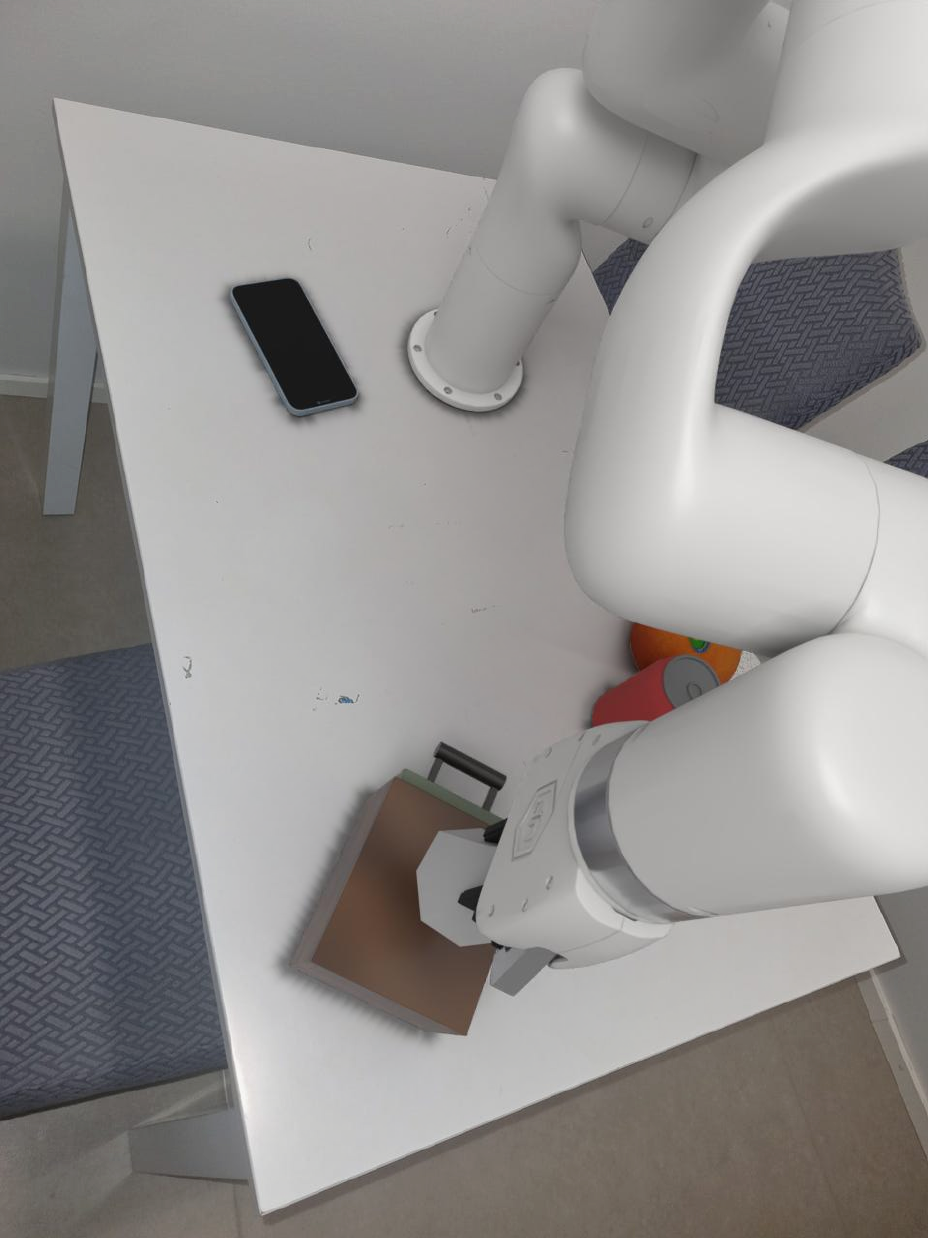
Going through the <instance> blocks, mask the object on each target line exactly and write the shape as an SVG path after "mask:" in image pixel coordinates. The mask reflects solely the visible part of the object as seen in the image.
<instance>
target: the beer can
mask: <svg viewBox="0 0 928 1238" xmlns="http://www.w3.org/2000/svg"><path fill="white" fill-rule="evenodd" d="M720 685H721V683H720V681H719V678H718V676H717V674H716V673H715V671H714V670H713V669H712V667H711V666H710V665H709V664H708V663H706V662H705V661H704V660H703V659H701V658H699V657H697V656H694V655H688V654H683V655H679V656H672V657H668V658H663V659H659V660H658V661H656V662H655V663H653V664H651V665H650V666H648V667H646V668H645V669H643V670H642V671H638V672H637V673H635V674H633V675H632V676H630V677H628V678H627V679H625V680H624V681H622V682H620V683H619V684H617V685H616V686H614V687H613V688H611V689H609V690H607V691H606V692H605V693H603V694H602V695H601V696H599V698H598V699H597V701H596V702H595V704H594V706H593V710H592V714H591V717H592V718H591V721H592V728H593V727H596V726H600V725H604V724H608V723H615V722H625V721H639V720H645V721H650V722H651V721H653V720H655V719H657V718H658V717H660V716H662V715H664V714H666V713H668V712H670V711H672V710H674V709H676V708H678V707H680V706H682V705H684V704H686V703H688V702H689V701H691V700H693V699H695V698H697V697H699V696H701V695H703V694H705V693H707V692H709V691H711V690H713V689H714V688H716V687H718V686H720Z"/></svg>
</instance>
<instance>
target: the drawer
mask: <svg viewBox="0 0 928 1238" xmlns="http://www.w3.org/2000/svg"><path fill="white" fill-rule="evenodd" d="M432 757H433V758H434V760H433V762H432V765H431V767H430V770H429V772H428V774H427V776H426V777H423V776H421V775H420V774H418V773H416V772H414V771H413V770H411V769H408V768H407V767H405V768H404V769H403V770H401V771H400V772H399V773H397V774H396V775H395V776H396V777H398V778H400V779H402V780H404V781H406V782H408V783H410V784H412V785H414V786H415V787H417V788H419V789H421V790H423V791H425V792H427V793H429V794H431V795H433V796H435V797H437V798H439V799H440V800H442V801H444V802H446V803H448V804H450V805H452V806H454V807H456V808H458V809H460V810H462V811H464V812H465V813H467V814H469V815H471V816H473V817H475V818H477V819H479V820H481V821H483V822H485V823H487V824H489V825H490V826H491V825H493V824H495V823H497V822H499V821H502V820H504V819H505V818H502V817H500V816H499V815H497V814H495V813H492V812H491V810H492V808H493V804H494V803H495V800H496V797H497V794H498V792H500V791H501V790H502V789H503V788H504V786H505V784H506V782H507V777H508V776H507V775H506V774H505V773H502V772H500V771H499V770H497V769H495V768H493V767H491V766H489V765H487V764H485V763H483V762H482V761H479V760H478V759H476V758H474V757H472V756H470V755H468V754H467V753H464V752H463V751H461V750H459V749H457V748H455V747H454V746H451V745H450V744H447V743H445V742H444V741H439V743H438V744H437V746H436V747H435V749H434V751H433V754H432ZM443 763H444V764H445V765H447V766H449V767H452V768H453V769H455V770H457V771H458V772H461V773H462V774H465V775H466V776H468V777H470V778H472V779H474V780H476V781H478V782H479V783H481V784H483V785H485V786H487V787H489V788H488V791H487V793H486V796H485V799H484V800H483V804H482V806H479V805H478V804H475V803H474V802H472V801H470V800H468V799H466V798H465V797H463V796H460V795H458V794H456V793H454V792H453V791H451V790H449V789H446V788H445V787H443V786H441V785H439V784H437V783H436V780H437V778H438V775H439V773H440V770H441V769H442V766H443Z"/></svg>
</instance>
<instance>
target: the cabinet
mask: <svg viewBox="0 0 928 1238" xmlns="http://www.w3.org/2000/svg"><path fill="white" fill-rule="evenodd" d="M488 826H490V825H489V824H487V823H485V822H483V821H481V820H479V819H477V818H475V817H473V816H471V815H469V814H467V813H465V812H464V811H462V810H460V809H458V808H456V807H454V806H452V805H450V804H448V803H446V802H444V801H442V800H440V799H439V798H437V797H435V796H433V795H431V794H429V793H427V792H425V791H423V790H421V789H419V788H417V787H415V786H414V785H412V784H410V783H408V782H406V781H404V780H402V779H400V778H398V777H396V775H395V776H394V777H393V778H391V779H390V780H389V781H387V782H386V783H385V784H383V785H382V786H381V787H380V788H378V789H377V790H376V791H375V792H373V793H372V794H370V795H369V796H368V797H367V798H366V799H365V800H364V802H363V805H362V807H361V809H360V811H359V813H358V815H357V818H356V820H355V822H354V824H353V826H352V828H351V831H350V833H349V835H348V836H347V839H346V841H345V843H344V846H343V847H342V850H341V851H340V854H339V856H338V858H337V860H336V862H335V864H334V867H333V869H332V871H331V873H330V875H329V877H328V879H327V881H326V884H325V886H324V888H323V890H322V892H321V894H320V897H319V898H318V901H317V903H316V905H315V907H314V909H313V912H312V914H311V916H310V918H309V920H308V923H307V925H306V927H305V929H304V931H303V933H302V935H301V937H300V939H299V942H298V944H297V946H296V948H295V950H294V952H293V954H292V957H291V959H290V961H289V963H288V967H289V968H292V969H293V970H296V971H298V972H300V973H302V974H304V975H306V976H308V977H311V978H312V979H315V980H316V981H319V982H321V983H323V984H325V985H327V986H329V987H332V988H334V989H335V990H338V991H340V992H342V993H344V994H346V995H347V996H350V997H352V998H355V999H357V1000H358V1001H361V1002H363V1003H365V1004H367V1005H369V1006H371V1007H373V1008H376V1009H378V1010H380V1011H382V1012H384V1013H386V1014H388V1015H390V1016H392V1017H394V1018H396V1019H399V1020H400V1021H402V1022H405V1023H407V1024H409V1025H411V1026H413V1027H415V1028H418V1029H419V1030H422V1031H424V1032H426V1033H435V1034H444V1035H453V1036H461V1037H462V1036H463V1037H466V1036H468V1033H469V1030H470V1028H471V1024H472V1021H473V1018H474V1016H475V1013H476V1011H477V1007H478V1005H479V1001H480V999H481V995H482V992H483V990H484V987H485V984H486V981H487V979H488V978H487V977H488V976H489V973H490V971H491V968H492V961H493V955H494V954H495V953H496V951H497V948H495V947H493V946H492V945H491V943H486V944H477V945H469V946H458V945H457V944H455V943H454V942H452V941H451V940H449V939H448V938H446V937H445V936H443V935H442V934H440V933H439V932H438V931H436V930H435V929H433V928H432V927H430V926H429V925H427V924H426V923H424V922H423V921H421V917H420V906H419V895H418V884H417V873H416V871H417V869H418V867H419V865H420V863H421V862H422V860H423V858H424V856H425V855H426V853H427V851H428V849H429V848H430V846H431V844H432V842H433V841H434V839H435V837H436V835H437V834H438V832H439V831H446V830H461V829H476V828H482V829H484V830H485V829H486V827H488Z"/></svg>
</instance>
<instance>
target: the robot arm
mask: <svg viewBox="0 0 928 1238" xmlns="http://www.w3.org/2000/svg"><path fill="white" fill-rule="evenodd" d="M580 221H582V222H585V223H589V224H592V225H594V226H600V227H602V228H605V229H607V230H610V231H612V232H614V233H617V234H620V235H622V236H624V237H627V238H629V239H632V240H634V241H636V242H639V243H642V244H645V245H647V248H646V249H645V251H644V252H643V254H642V255H641V257H640V259H639V260H638V261H637V263H636V264H635V267H634V268H633V270H632V271H631V274H630V275H629V277H628V279H627V280H626V282H625V284H624V285H623V288H622V290H621V291H620V294H619V296H618V298H617V300H616V302H615V303H614V306H613V308H612V310H611V312H610V315H609V318H608V320H607V323H606V325H605V327H604V329H603V333H602V335H601V338H600V341H599V343H598V347H597V350H596V354H595V357H594V361H593V365H592V369H591V373H590V378H589V384H588V389H587V394H586V399H585V403H584V408H583V412H582V416H581V421H580V426H579V429H578V434H577V438H576V444H575V447H574V451H573V452H574V453H573V458H572V463H571V467H570V474H569V478H568V484H567V485H568V486H567V493H566V500H565V507H564V517H563V518H564V519H563V520H564V521H563V523H564V524H563V533H564V549H565V555H566V560H567V564H568V566H569V569H570V571H571V573H572V576H573V579H574V581H575V582H576V584H577V585H578V587H579V588H580V590H581V591H582V592H583V594H585V595H586V596H587V598H588V599H590V601H592V602H593V603H594V604H596V605H597V606H599V608H602V609H603V610H604V611H606V612H608V613H610V614H611V615H613V616H616V617H618V618H620V619H623V620H627V621H630V622H633V623H634V622H636V623H640V624H643V625H646V626H650V627H653V628H656V629H660V630H664V631H667V632H671V633H675V634H679V635H682V636H686V637H691V638H695V639H699V640H703V641H707V642H711V643H715V644H719V645H723V646H727V647H731V648H735V649H739V650H743V651H742V652H747V653H751V654H753V655H754V656H755V657H756V659H757V660H758V661H759V663H760V664H758V665H756V666H754V667H753V668H751V669H749V670H747V671H745V672H743V673H742V674H739V675H737V676H735V677H734V678H731V679H730V680H729V681H728V682H726V683H724V684H722V685H720V686H718V687H716V688H714V689H713V690H711V691H709V692H707V693H705V694H703V695H701V696H699V697H697V698H695V699H693V700H691V701H689V702H688V703H686V704H684V705H682V706H680V707H678V708H676V709H674V710H672V711H670V712H668V713H666V714H664V715H662V716H660V717H658V718H657V719H655V720H653V721H651V722H650V721H645V720H639V721H625V722H615V723H608V724H604V725H600V726H596V727H593V726H592V727H590V728H587V729H585V730H582V731H579V732H576V733H574V734H572V735H570V736H567V737H565V738H563V739H561V740H560V741H557V742H555V743H553V744H552V745H549V746H548V747H546V748H544V749H543V750H541V752H538V754H537V755H535V756H534V758H533V759H532V761H531V762H530V764H529V765H528V767H527V769H526V772H525V773H524V776H523V778H522V780H521V783H520V786H519V788H518V791H517V792H516V793H517V794H516V796H515V798H514V800H513V803H512V806H511V808H510V812H509V814H508V817H506V818H503V819H504V820H502V821H499V822H497V823H495V824H493V825H491V826H488V827H486V829H485V832H484V834H483V837H484V841H485V842H492V843H499V844H498V846H497V849H496V852H495V854H494V857H493V860H492V863H491V865H490V868H489V871H488V874H487V877H486V879H485V882H484V885H481V886H478V887H475V888H471V889H468V890H465V891H464V892H463V893H461V894H460V897H459V900H458V903H459V904H460V905H462V906H464V907H466V908H468V909H470V910H472V911H474V914H473V916H472V920H473V921H474V922H475V923H476V924H477V928H478V930H479V932H480V933H481V934H483V935H484V936H486V937H487V938H489V939H490V940H491V945H492V946H493V947H495V948H497V950H496V953H495V954H494V955H493V961H492V964H491V967H490V976H489V986H490V987H492V988H494V989H496V990H498V991H500V992H503V993H504V994H506V995H508V996H511V997H515V996H516V995H517V994H519V993H520V991H521V990H523V988H525V987H526V986H527V985H528V984H529V982H531V981H532V980H533V979H534V978H535V977H536V976H537V975H538V974H539V973H540V972H541V971H542V970H543V969H544V968H545V967H546V966H547V967H548V968H549V969H552V970H574V969H581V968H588V967H591V966H595V965H600V964H604V963H608V962H612V961H614V960H619V959H621V958H623V957H626V956H628V955H632V954H633V953H636V952H638V951H640V950H642V949H645V948H646V947H650V945H652V944H655V943H656V942H659V941H660V940H662V939H663V938H665V937H667V936H668V935H669V934H670V932H671V930H672V929H673V927H674V925H675V923H680V922H687V921H695V920H702V919H709V918H719V917H724V916H733V915H740V914H747V913H755V912H756V913H757V912H763V911H772V910H778V909H785V908H786V909H787V908H793V907H800V906H801V907H802V906H808V905H809V906H810V905H815V904H823V903H829V902H830V903H831V902H838V901H845V900H852V899H860V898H868V897H875V896H881V895H882V896H883V895H889V894H897V893H903V892H906V891H911V890H917V889H921V888H925V887H928V477H925V476H922V475H919V474H916V473H914V472H911V471H908V470H905V469H902V468H900V467H897V466H894V465H891V464H888V463H885V462H882V461H880V460H877V459H874V458H871V457H868V456H866V455H862V454H860V453H857V452H854V450H851V449H848V448H846V447H843V446H839V445H837V444H834V443H831V442H828V441H826V440H823V439H820V438H818V437H815V436H812V435H809V434H806V433H803V432H800V431H798V430H795V429H792V428H789V427H786V426H784V425H781V424H778V423H775V422H772V421H770V420H767V419H765V418H762V417H760V416H759V417H758V416H756V415H753V414H750V413H748V412H744V411H742V410H739V409H735V408H732V407H728V406H725V405H722V404H720V403H716V402H715V395H716V384H717V379H718V372H719V371H718V370H719V365H720V358H721V352H722V350H723V349H722V348H723V344H724V339H725V334H726V330H727V326H728V321H729V317H730V315H731V311H732V308H733V305H734V302H735V300H736V299H735V298H736V296H737V294H738V291H739V288H740V286H741V284H742V281H744V280H743V279H744V278H745V276H746V274H747V272H748V270H749V268H750V266H751V265H755V264H760V263H766V262H767V263H768V262H774V261H781V260H782V261H783V260H791V259H792V260H793V259H804V258H805V259H806V258H819V257H821V258H822V257H832V256H833V257H834V256H844V255H846V256H847V255H859V254H871V253H877V252H878V253H879V252H885V251H891V250H896V249H899V248H904V247H907V246H911V245H915V244H919V243H922V242H925V241H928V0H791V3H790V7H789V9H788V8H786V7H783V5H780V4H778V3H776V2H774V1H772V0H602V2H601V3H600V6H599V8H598V10H597V11H596V13H595V15H594V17H593V19H592V21H591V24H590V26H589V29H588V31H587V34H586V37H585V40H584V44H583V48H582V52H581V69H580V68H573V67H558V68H553V69H550V70H546V71H545V72H543V73H542V74H540V75H539V76H538V77H537V78H535V79H534V81H533V82H532V83H531V84H530V85H529V87H528V88H527V90H526V91H525V94H524V96H523V98H522V101H521V102H520V104H519V107H518V110H517V113H516V116H515V119H514V122H513V126H512V129H511V133H510V136H509V140H508V144H507V147H506V151H505V154H504V158H503V161H502V164H501V167H500V170H499V173H498V176H497V180H496V182H495V184H494V187H493V189H492V192H491V194H490V197H489V198H488V201H487V204H486V205H485V208H484V210H483V212H482V215H481V217H480V218H479V221H478V223H477V225H476V227H475V230H474V232H473V234H472V236H471V239H470V240H469V243H468V245H467V246H466V249H465V251H464V254H463V256H462V257H461V260H460V262H459V264H458V266H457V268H456V270H455V273H454V274H453V277H452V279H451V281H450V283H449V285H448V287H447V290H446V291H445V294H444V296H443V298H442V299H441V302H440V305H439V307H438V308H434V309H432V310H429V311H427V312H426V313H424V314H423V315H421V316H420V317H418V319H417V320H416V321H415V323H414V324H413V326H412V329H411V331H410V333H409V336H408V340H407V347H406V349H407V350H406V351H407V357H408V362H409V364H410V367H411V369H412V371H413V373H414V375H415V376H416V378H417V379H418V381H419V382H420V383H421V384H422V386H423V387H424V388H425V389H426V390H428V392H429V393H430V394H432V395H433V396H434V397H435V398H436V399H438V400H440V401H442V402H443V403H445V404H447V405H450V406H451V407H453V408H457V409H459V410H463V411H468V412H476V413H481V412H490V411H494V410H497V409H499V408H502V407H503V406H505V405H507V404H508V403H509V402H510V401H511V400H513V398H514V396H515V395H516V394H517V392H518V390H519V388H520V387H521V384H522V381H523V375H524V367H523V361H522V357H523V355H524V353H525V352H526V350H527V349H528V347H529V345H530V343H531V342H532V340H533V339H534V337H535V336H536V334H537V332H538V331H539V329H540V328H541V327H542V325H543V323H544V322H545V319H546V318H547V317H548V315H549V314H550V312H551V310H552V309H553V308H554V305H555V304H556V302H557V301H558V299H559V298H560V296H561V294H562V293H563V291H564V290H565V288H566V286H567V285H568V283H569V282H570V280H571V279H572V277H573V276H574V274H575V272H576V270H577V268H578V266H579V263H580V260H581V255H582V250H583V249H582V248H583V238H582V230H581V229H582V228H581V223H580Z"/></svg>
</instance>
